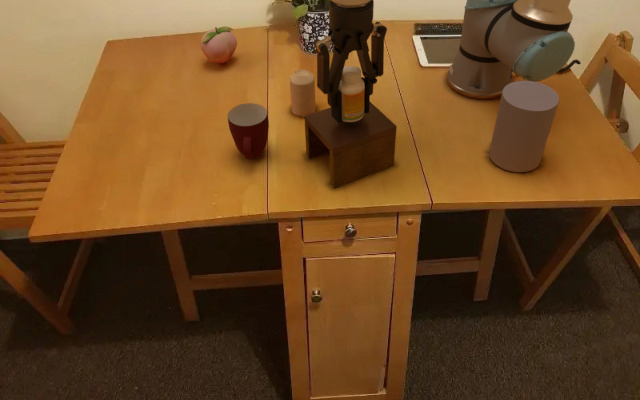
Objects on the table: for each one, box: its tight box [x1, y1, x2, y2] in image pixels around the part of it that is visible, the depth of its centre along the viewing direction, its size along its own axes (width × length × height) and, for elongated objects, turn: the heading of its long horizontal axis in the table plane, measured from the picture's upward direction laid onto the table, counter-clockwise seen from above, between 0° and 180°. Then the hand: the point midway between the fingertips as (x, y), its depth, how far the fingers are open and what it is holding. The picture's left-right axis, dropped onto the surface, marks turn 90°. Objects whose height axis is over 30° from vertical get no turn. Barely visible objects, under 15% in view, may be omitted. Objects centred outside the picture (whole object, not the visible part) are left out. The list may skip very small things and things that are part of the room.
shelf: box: [303, 101, 398, 189], centre depth 117 cm, size 14×12×10 cm
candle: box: [289, 68, 317, 118], centre depth 131 cm, size 6×6×10 cm
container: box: [488, 80, 560, 173], centre depth 115 cm, size 10×10×15 cm
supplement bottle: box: [338, 65, 365, 122], centre depth 109 cm, size 5×5×10 cm
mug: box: [227, 102, 270, 160], centre depth 119 cm, size 10×8×10 cm
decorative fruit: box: [200, 26, 238, 64], centre depth 147 cm, size 9×8×10 cm
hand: (350, 114), depth 113 cm, fingers closed on supplement bottle, 5 cm apart
